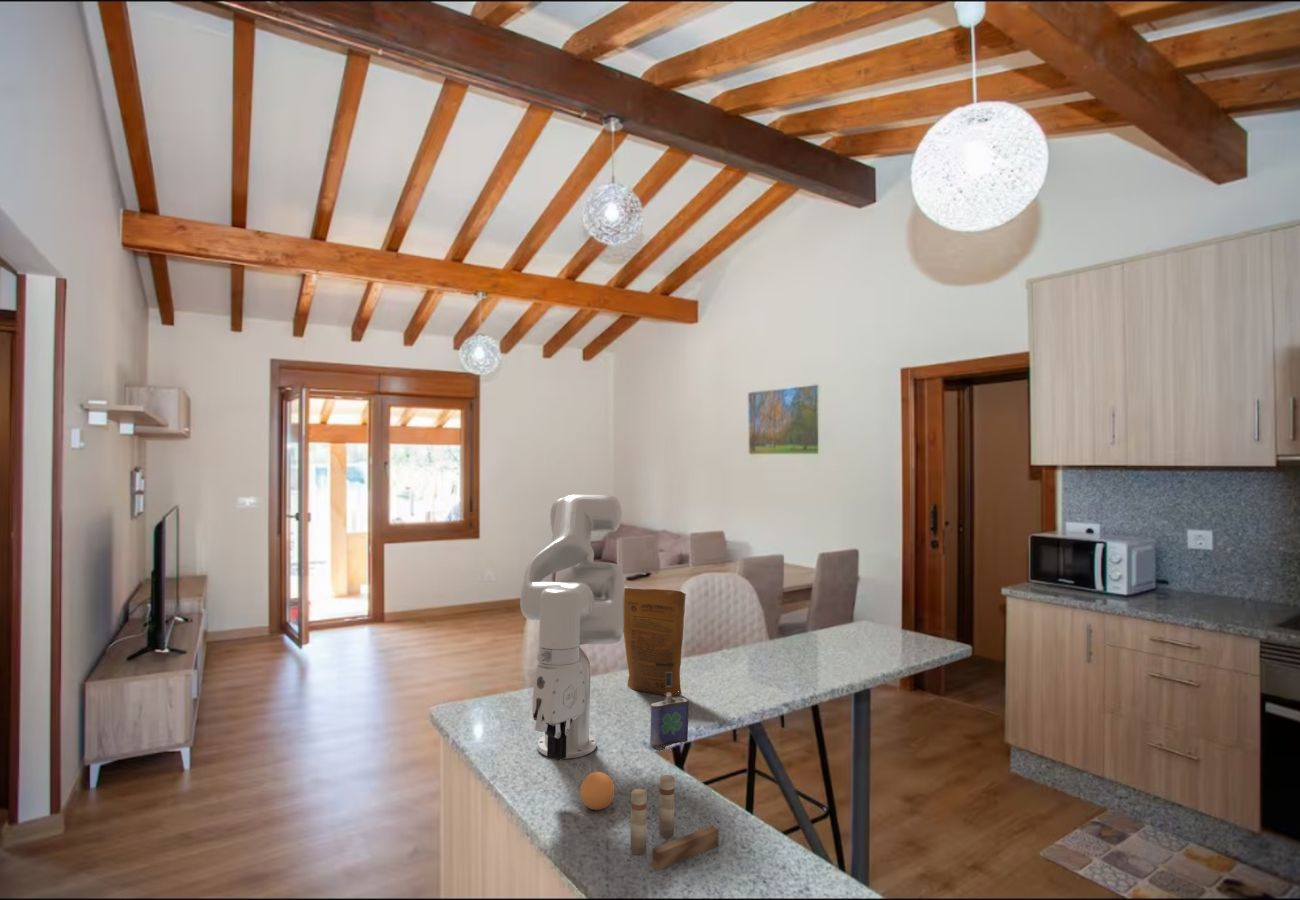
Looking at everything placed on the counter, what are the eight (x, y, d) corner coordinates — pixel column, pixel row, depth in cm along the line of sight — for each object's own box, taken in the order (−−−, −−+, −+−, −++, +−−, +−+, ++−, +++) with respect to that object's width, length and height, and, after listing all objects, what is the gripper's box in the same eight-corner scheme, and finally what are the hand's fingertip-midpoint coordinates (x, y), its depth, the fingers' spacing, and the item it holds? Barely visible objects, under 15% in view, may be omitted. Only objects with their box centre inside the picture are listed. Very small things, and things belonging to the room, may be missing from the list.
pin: (655, 832, 110) (656, 777, 111) (667, 827, 112) (668, 773, 112) (664, 839, 108) (665, 782, 108) (677, 834, 110) (677, 779, 110)
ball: (573, 805, 119) (574, 771, 119) (602, 796, 122) (603, 763, 122) (591, 820, 114) (591, 784, 114) (620, 810, 117) (621, 775, 117)
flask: (653, 748, 144) (654, 698, 144) (647, 743, 146) (648, 694, 147) (690, 741, 148) (691, 692, 148) (683, 736, 151) (684, 688, 151)
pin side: (627, 849, 105) (628, 791, 105) (640, 844, 107) (641, 787, 107) (635, 856, 103) (636, 797, 103) (649, 851, 105) (650, 793, 105)
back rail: (657, 870, 100) (658, 853, 100) (651, 865, 101) (652, 848, 101) (718, 845, 107) (718, 829, 107) (712, 841, 108) (712, 825, 108)
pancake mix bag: (679, 700, 174) (680, 593, 175) (615, 689, 183) (617, 586, 184) (689, 693, 180) (690, 589, 181) (627, 682, 189) (629, 583, 190)
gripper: (546, 666, 115) (543, 776, 114) (599, 651, 128) (597, 749, 127) (515, 660, 120) (512, 766, 118) (569, 645, 132) (567, 741, 131)
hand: (556, 757), depth 122 cm, fingers closed
